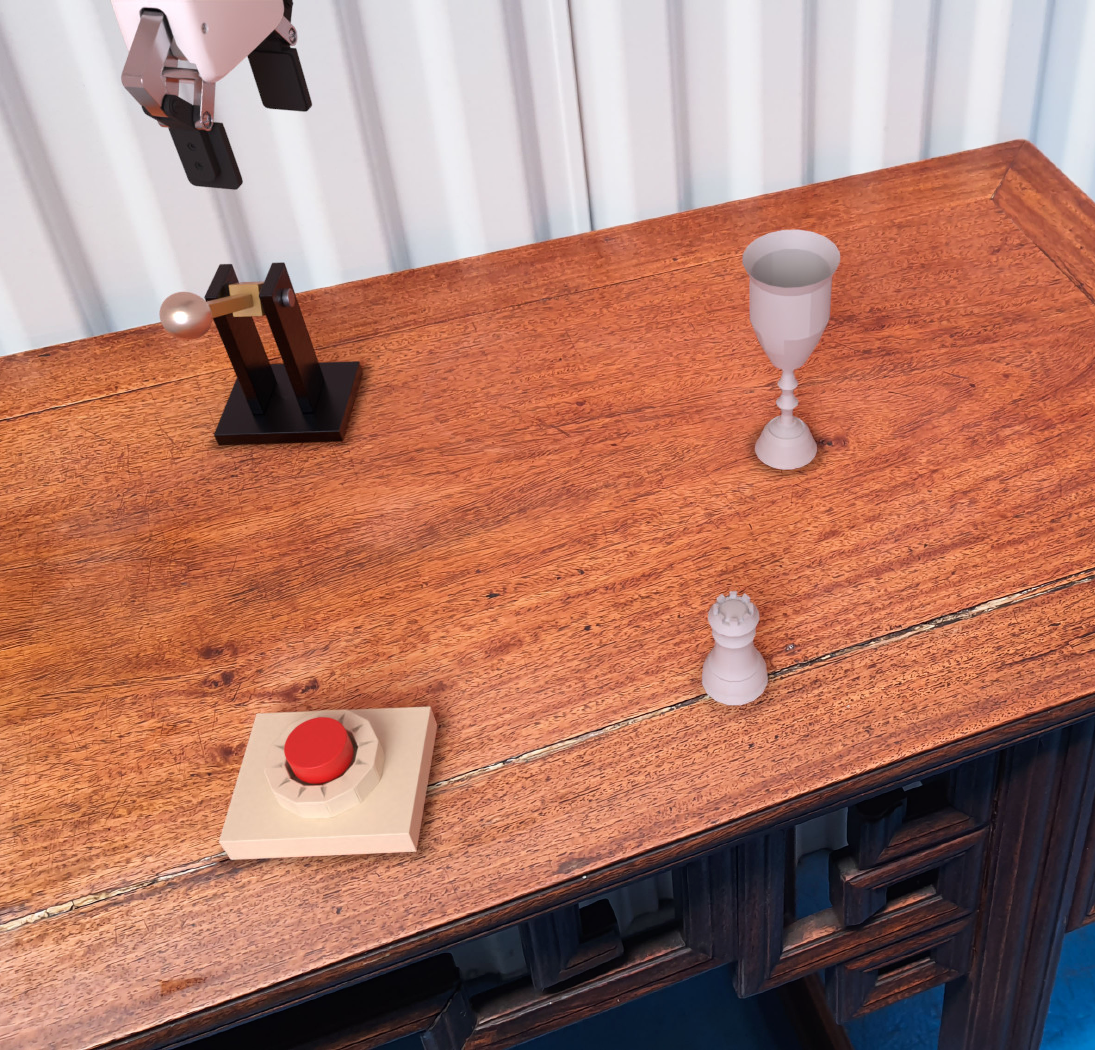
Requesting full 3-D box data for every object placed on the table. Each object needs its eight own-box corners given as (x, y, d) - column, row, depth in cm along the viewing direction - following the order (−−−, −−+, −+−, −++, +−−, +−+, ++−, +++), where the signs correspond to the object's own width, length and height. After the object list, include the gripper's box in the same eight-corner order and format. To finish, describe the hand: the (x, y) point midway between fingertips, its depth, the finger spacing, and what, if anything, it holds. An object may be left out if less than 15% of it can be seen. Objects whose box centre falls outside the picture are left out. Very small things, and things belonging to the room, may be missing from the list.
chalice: (767, 409, 98) (770, 220, 85) (842, 433, 96) (856, 243, 83) (728, 463, 93) (724, 272, 80) (805, 489, 91) (814, 298, 78)
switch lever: (204, 342, 77) (196, 293, 76) (155, 343, 77) (147, 294, 76) (282, 317, 92) (276, 275, 91) (241, 318, 92) (235, 276, 91)
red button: (286, 785, 69) (277, 769, 68) (299, 734, 71) (291, 717, 70) (347, 783, 69) (340, 767, 68) (358, 731, 71) (351, 715, 70)
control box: (230, 860, 69) (207, 826, 67) (266, 732, 76) (247, 696, 73) (416, 852, 70) (402, 818, 67) (437, 725, 76) (425, 689, 73)
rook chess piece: (761, 714, 77) (762, 639, 71) (695, 704, 77) (690, 629, 71) (773, 660, 80) (774, 584, 74) (709, 651, 80) (705, 574, 74)
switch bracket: (342, 441, 95) (298, 312, 86) (218, 445, 95) (160, 316, 85) (363, 371, 101) (323, 244, 92) (246, 375, 101) (194, 247, 91)
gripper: (169, -212, 67) (260, 77, 79) (-16, -108, 55) (125, 213, 67) (293, -206, 66) (365, 86, 78) (132, -99, 54) (247, 225, 66)
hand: (254, 145), depth 73 cm, fingers open, 9 cm apart
